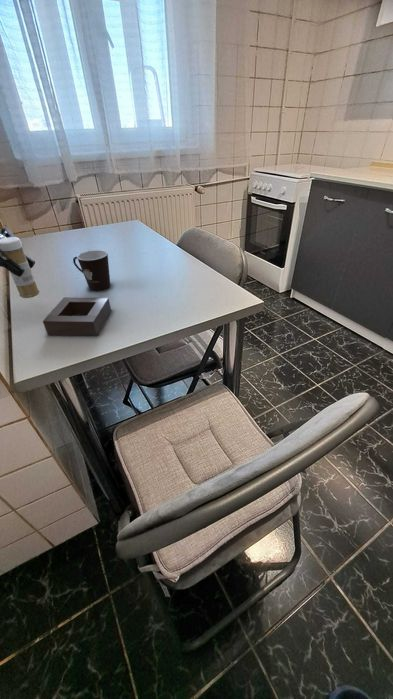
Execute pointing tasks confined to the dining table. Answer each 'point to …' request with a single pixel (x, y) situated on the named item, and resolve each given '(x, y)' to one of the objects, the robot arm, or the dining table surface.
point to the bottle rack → (77, 317)
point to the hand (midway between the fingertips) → (27, 269)
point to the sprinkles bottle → (16, 254)
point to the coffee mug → (94, 269)
